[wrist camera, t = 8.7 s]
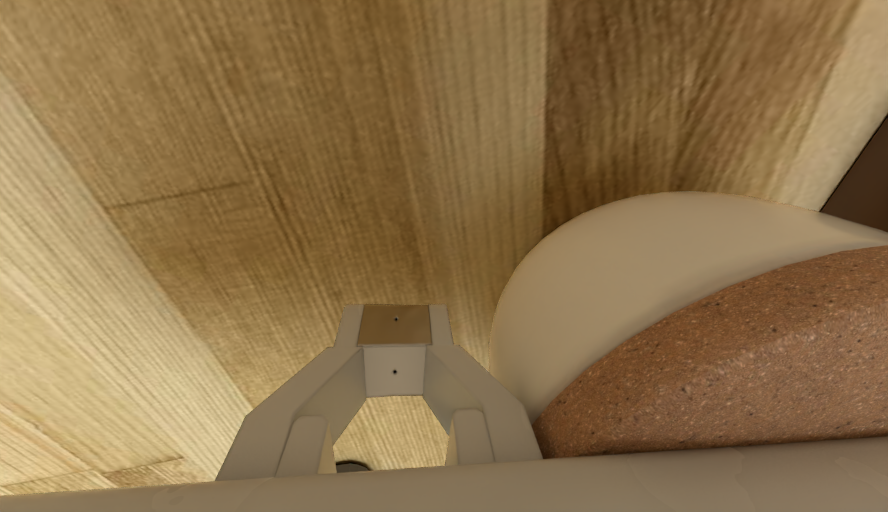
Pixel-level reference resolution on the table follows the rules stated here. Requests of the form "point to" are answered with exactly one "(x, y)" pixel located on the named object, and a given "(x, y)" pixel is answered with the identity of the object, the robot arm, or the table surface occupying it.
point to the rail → (865, 186)
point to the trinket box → (697, 327)
